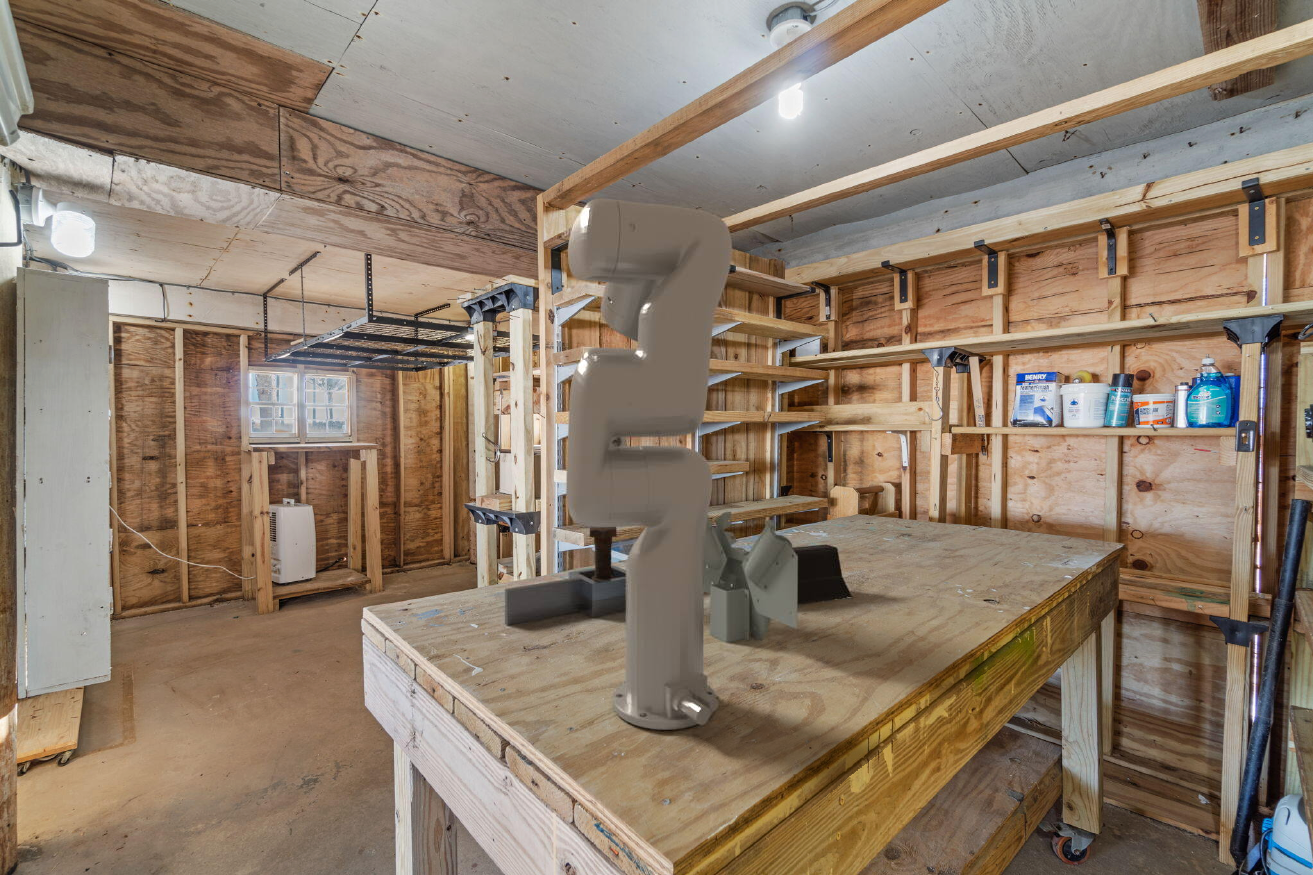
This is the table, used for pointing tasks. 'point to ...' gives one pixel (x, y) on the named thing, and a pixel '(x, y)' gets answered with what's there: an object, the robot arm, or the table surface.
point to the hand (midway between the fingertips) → (604, 510)
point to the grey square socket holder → (567, 597)
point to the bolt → (603, 551)
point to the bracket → (749, 582)
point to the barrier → (819, 574)
